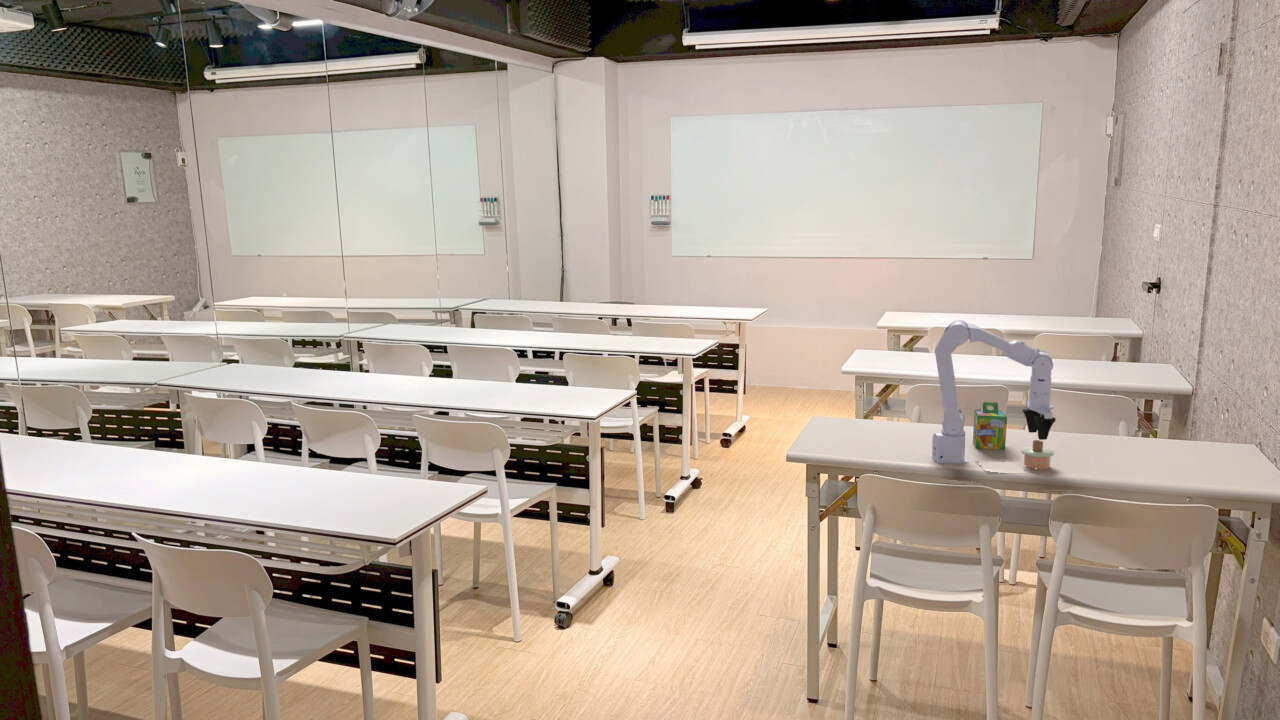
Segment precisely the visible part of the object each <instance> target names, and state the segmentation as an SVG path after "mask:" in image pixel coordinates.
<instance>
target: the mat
mask: <svg viewBox="0 0 1280 720" xmlns="http://www.w3.org/2000/svg"><path fill="white" fill-rule="evenodd" d="M976 462H977V463H979V461H976ZM977 463H976V464H977ZM983 471H984V472H985V473H986V474H987V475H1007V474H1006V473H1005V474H1004V473H998V472H990V471H985V470H983Z"/></svg>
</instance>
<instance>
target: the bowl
mask: <svg viewBox="0 0 1280 720" xmlns="http://www.w3.org/2000/svg"><path fill="white" fill-rule="evenodd" d="M1023 465H1026V466H1027V467H1026V466H1025V467H1026V468H1028V467H1031V468H1037V469H1045V470H1047V469H1046V468H1049V469H1050V467H1051V457H1032V456H1028V455H1025V454H1024V460H1023ZM1031 468H1030V469H1031ZM1037 469H1036V470H1037Z"/></svg>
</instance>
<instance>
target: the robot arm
mask: <svg viewBox="0 0 1280 720" xmlns="http://www.w3.org/2000/svg"><path fill="white" fill-rule="evenodd" d="M968 340H969V343H976V342H980V343H983V344H986V345H988V346H991V347H992V348H995V349H998V350H1000V351H1003V352H1004V353H1005V356H1006V358H1008V359H1009V360H1010V359H1011V360H1012V361H1015V362H1017V363H1019V364H1021V365H1023V366H1025V367H1031V375H1030V380H1029V381H1030V383H1029V398H1028V399H1029V400H1027V401H1026V405H1025V406H1026V408H1022V412H1023V414H1024V417H1025V420H1026V424H1027V425H1026V426H1027V431H1028V432H1029V433H1030V434H1031V433H1037V438H1038V440H1040V441H1045V440H1047V439H1048V436H1049V433H1050V430H1051V428H1052V426H1053V425H1054V423H1055V422H1056V419H1057V418H1056V417H1054V416H1053V412H1052V410H1054V405H1051V394H1052V370H1053V369H1054V362H1053V358H1052V357H1051V355H1050V354H1049V353H1047V352H1046V351H1045V350H1041V349H1040V348H1038V347H1037V348H1035V347H1032V346H1030V345H1027V344H1026V341H1023V340H1020V341H1018V340H1017V339H1016V340H1012V341H1009V340H1007V339H1005V338H1002V337H1001V336H998V335H996V334H994V333H992V332H990V331H988V330H986V329H984V328H982V327H980V326H977V325H976V324H973V323H970V322H968V323H967V322H966V321H965V320H961V319H960V320H959V319H958V320H957V319H956V320H954V321H952V322H951V323H950V324H949V325H948V326H947V327H946V328H945V329H944V331H943V333H942V334H941V336H940V339H939V340H938V341H937V344H936V346H935V348H934V355H935V360H936V366H937V373H938V380H939V386H940V394H941V400H942V407H943V420H942V424H941V426H942V429H941V430H940V432H936V433H933V436H932V442H931V443H932V445H931V446H932V449H931V450H932V451H931V455H932V456H933V457H932V456H931V457H932V458H933V459H934V461H935V462H936V461H938V462H939V463H938V464H969V462H970V461H968V460H967V458H966V457H965V455H966V452H965V451H966V450H965V449H966V431H965V430H964V429H965V425H964V424H965V420H966V419H965V414H964V412H963V411H962V410H961V405H960V402H959V396H958V391H957V390H958V389H957V383H956V382H957V381H956V376H955V369H954V363H953V357H952V354H953V352H954V351H955V350H956V349H957V348H958V347H959V346H961V345H963V344H965V343H966V342H967V341H968Z"/></svg>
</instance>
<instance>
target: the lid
mask: <svg viewBox="0 0 1280 720" xmlns="http://www.w3.org/2000/svg"><path fill="white" fill-rule="evenodd" d="M1020 450H1021V453H1022V454H1023V455H1024V456H1025V455H1028V456H1032V457H1050V458H1052V457H1054V456H1055V455H1054V454H1055V452H1054V450H1052V449H1050V448H1047V447H1044V440H1039V439H1034V440H1032V446H1025V447H1022V448H1021V449H1020Z"/></svg>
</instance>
